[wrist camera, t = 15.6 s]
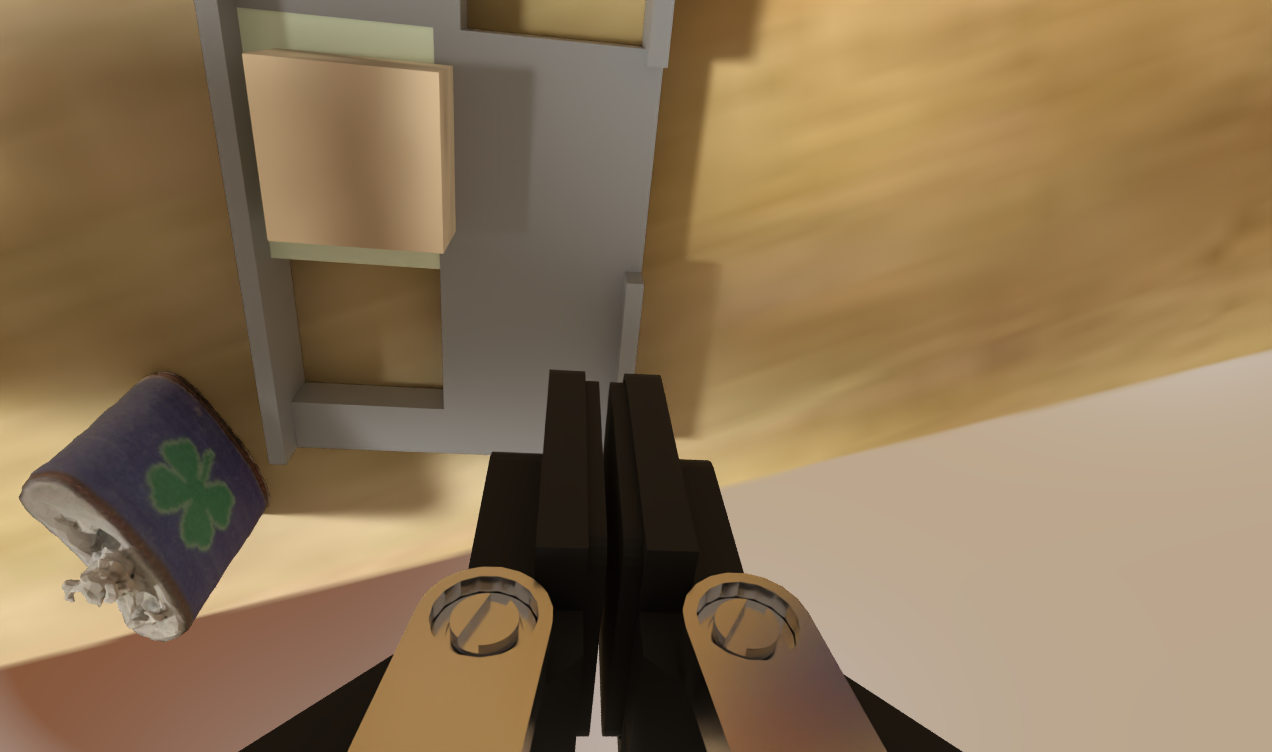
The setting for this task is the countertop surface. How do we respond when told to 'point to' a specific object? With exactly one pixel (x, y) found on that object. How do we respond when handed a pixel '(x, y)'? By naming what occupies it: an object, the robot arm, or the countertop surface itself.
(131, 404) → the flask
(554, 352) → the board
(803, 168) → the countertop surface
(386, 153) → the beech block
